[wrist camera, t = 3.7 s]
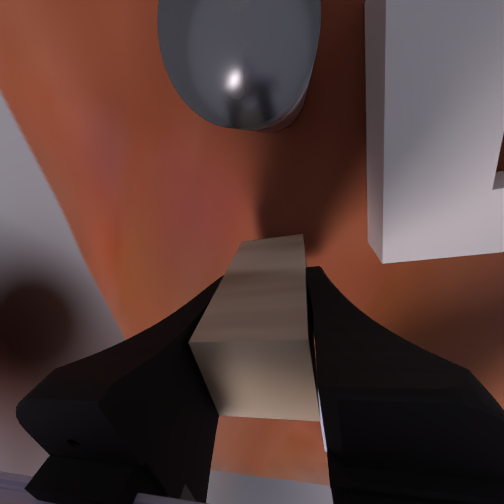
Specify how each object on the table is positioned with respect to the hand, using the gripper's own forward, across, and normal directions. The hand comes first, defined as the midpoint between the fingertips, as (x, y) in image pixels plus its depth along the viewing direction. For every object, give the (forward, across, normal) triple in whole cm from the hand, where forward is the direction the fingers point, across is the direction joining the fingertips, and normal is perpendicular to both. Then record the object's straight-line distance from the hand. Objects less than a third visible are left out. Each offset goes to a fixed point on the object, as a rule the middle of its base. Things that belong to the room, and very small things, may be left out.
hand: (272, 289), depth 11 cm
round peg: (+4, -1, -8) cm, 9 cm away
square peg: (+2, 0, 0) cm, 2 cm away
